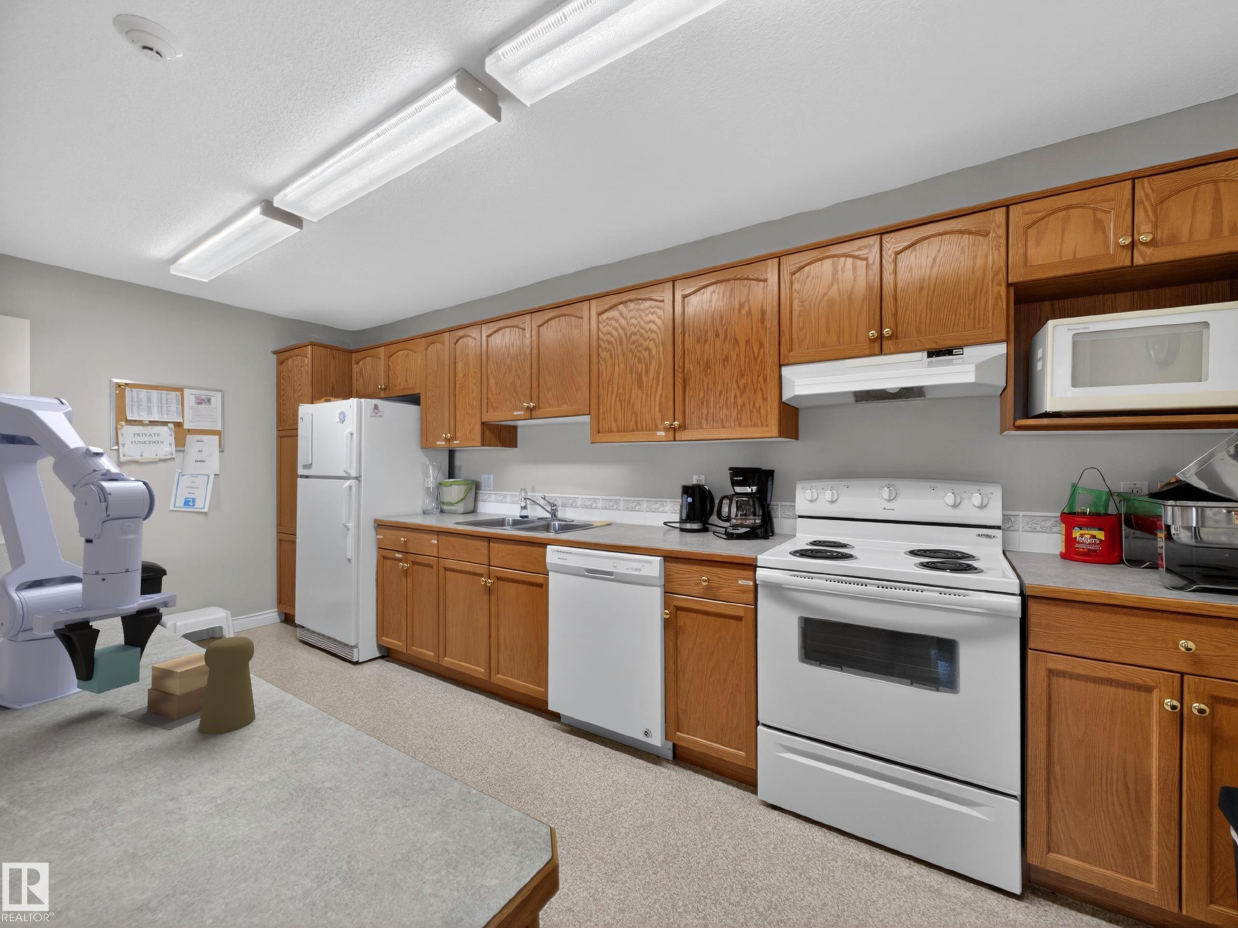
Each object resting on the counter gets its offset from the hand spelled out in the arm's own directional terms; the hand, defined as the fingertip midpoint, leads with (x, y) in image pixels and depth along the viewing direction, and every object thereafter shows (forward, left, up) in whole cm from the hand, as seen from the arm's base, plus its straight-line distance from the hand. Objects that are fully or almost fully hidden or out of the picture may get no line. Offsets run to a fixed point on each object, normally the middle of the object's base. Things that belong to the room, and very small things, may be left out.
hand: (108, 672), depth 72 cm
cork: (+18, +4, -5) cm, 19 cm away
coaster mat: (+9, +5, -5) cm, 11 cm away
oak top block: (+9, +5, -2) cm, 10 cm away
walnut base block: (+9, +5, -5) cm, 11 cm away
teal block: (0, 0, -2) cm, 2 cm away
